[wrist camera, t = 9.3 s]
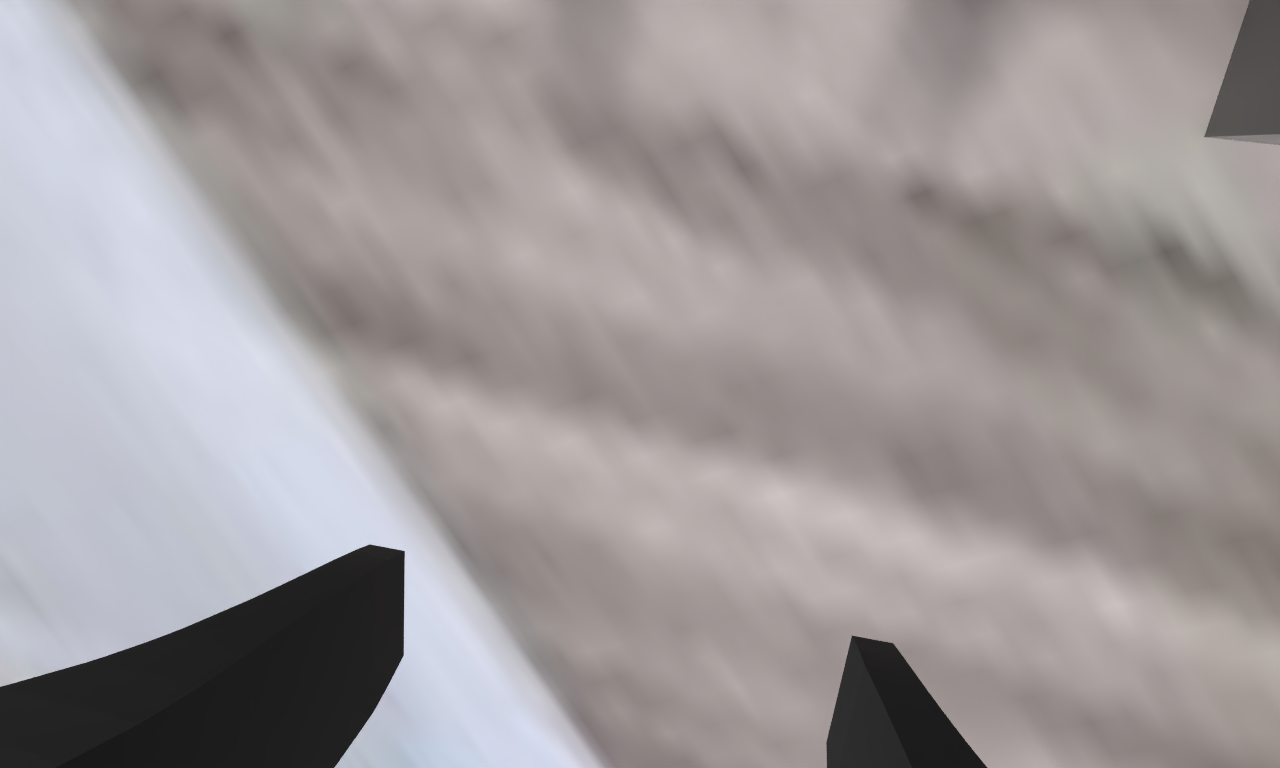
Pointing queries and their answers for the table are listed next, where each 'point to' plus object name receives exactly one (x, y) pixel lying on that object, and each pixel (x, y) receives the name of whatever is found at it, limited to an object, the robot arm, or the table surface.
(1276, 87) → the flat slat
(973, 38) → the table surface
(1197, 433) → the table surface
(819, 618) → the table surface
